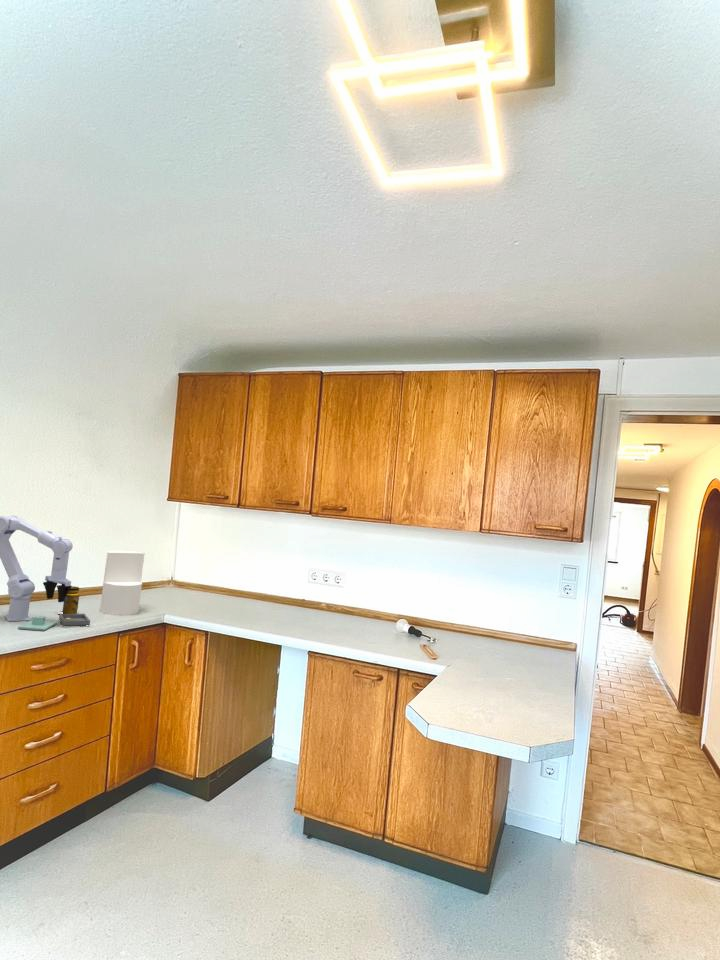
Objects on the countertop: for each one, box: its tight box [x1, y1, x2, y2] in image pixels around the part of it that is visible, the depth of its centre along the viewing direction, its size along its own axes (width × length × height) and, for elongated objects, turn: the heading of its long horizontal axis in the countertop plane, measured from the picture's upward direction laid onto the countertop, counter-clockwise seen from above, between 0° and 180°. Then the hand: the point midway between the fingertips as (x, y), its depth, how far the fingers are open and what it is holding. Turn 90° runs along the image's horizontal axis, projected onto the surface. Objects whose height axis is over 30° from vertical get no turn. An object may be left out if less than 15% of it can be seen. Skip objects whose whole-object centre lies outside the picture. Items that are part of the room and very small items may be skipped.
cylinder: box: [99, 549, 145, 616], centre depth 270 cm, size 17×17×28 cm
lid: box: [17, 615, 58, 632], centre depth 228 cm, size 12×10×4 cm
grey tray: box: [58, 613, 91, 627], centre depth 239 cm, size 12×10×2 cm
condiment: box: [61, 585, 80, 614], centre depth 254 cm, size 7×8×12 cm
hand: (55, 600), depth 236 cm, fingers open, 7 cm apart
